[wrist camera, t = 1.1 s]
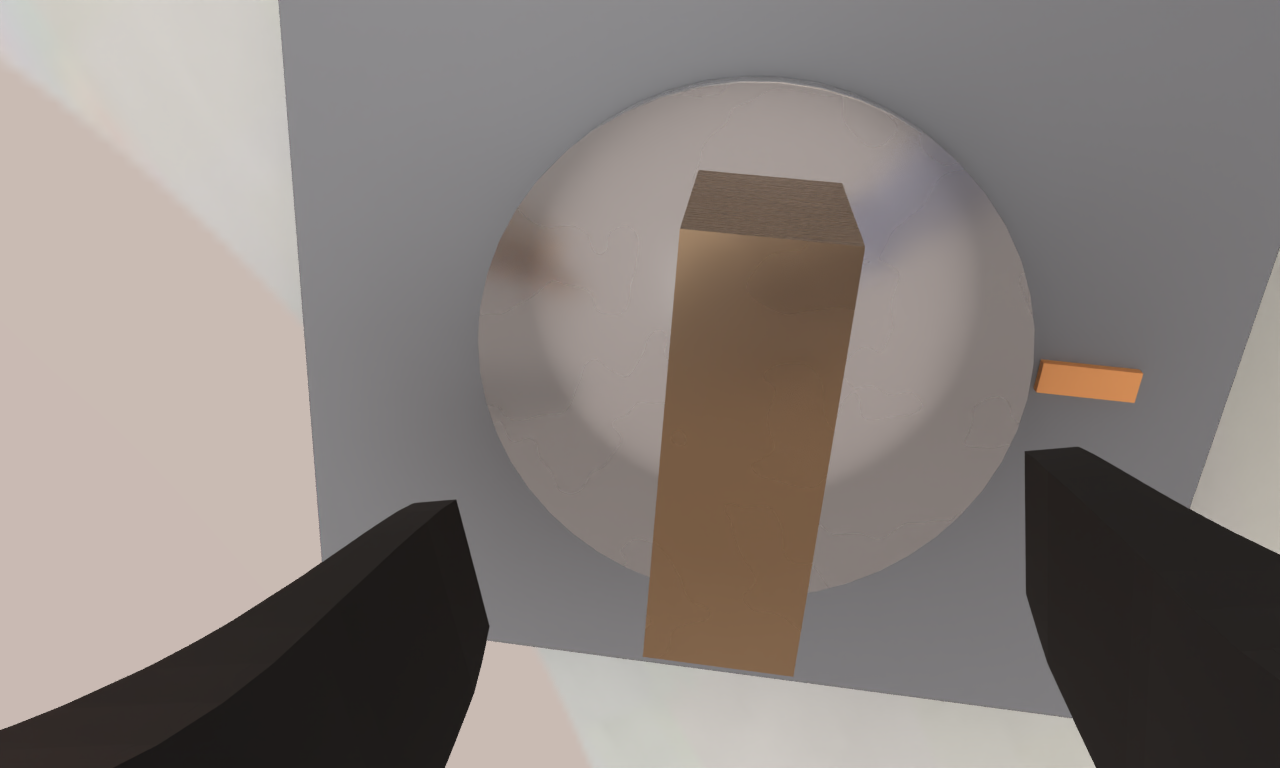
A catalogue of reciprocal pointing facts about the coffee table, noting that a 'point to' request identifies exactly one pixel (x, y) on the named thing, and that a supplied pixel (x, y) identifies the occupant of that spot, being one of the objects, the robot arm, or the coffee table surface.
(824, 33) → the dial base
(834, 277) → the dial
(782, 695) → the coffee table surface
